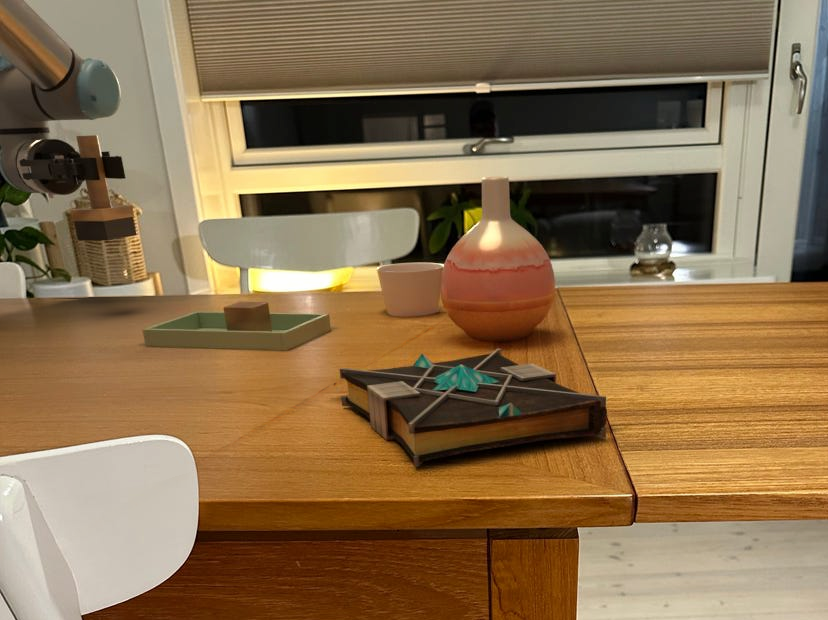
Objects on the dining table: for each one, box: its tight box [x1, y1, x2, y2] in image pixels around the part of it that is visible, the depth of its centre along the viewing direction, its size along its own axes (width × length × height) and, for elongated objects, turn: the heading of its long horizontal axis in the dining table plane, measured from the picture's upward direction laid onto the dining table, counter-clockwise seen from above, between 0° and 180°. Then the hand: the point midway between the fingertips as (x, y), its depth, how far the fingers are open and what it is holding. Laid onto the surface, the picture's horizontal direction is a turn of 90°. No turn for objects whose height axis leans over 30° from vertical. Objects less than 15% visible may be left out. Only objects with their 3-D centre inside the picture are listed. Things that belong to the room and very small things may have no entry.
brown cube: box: [223, 301, 272, 332], centre depth 117 cm, size 4×4×4 cm
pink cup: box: [376, 262, 444, 318], centre depth 130 cm, size 9×9×6 cm
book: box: [339, 348, 608, 468], centre depth 83 cm, size 22×17×5 cm
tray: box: [142, 310, 332, 352], centre depth 118 cm, size 19×12×3 cm, turn 73°
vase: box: [440, 176, 556, 343], centre depth 112 cm, size 14×14×18 cm
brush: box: [69, 134, 137, 242], centre depth 134 cm, size 5×7×13 cm
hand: (108, 168), depth 129 cm, fingers closed on brush, 3 cm apart
